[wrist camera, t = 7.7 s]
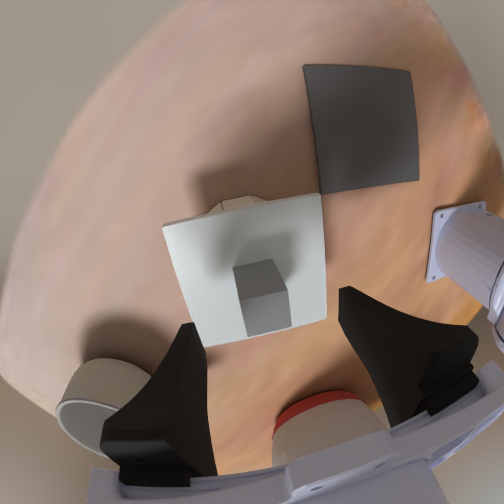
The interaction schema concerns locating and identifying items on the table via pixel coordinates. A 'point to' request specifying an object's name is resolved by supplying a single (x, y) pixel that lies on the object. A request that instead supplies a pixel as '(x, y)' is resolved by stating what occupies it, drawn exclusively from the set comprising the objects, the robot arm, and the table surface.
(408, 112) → the mat
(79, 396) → the teacup
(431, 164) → the table surface
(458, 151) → the table surface
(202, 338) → the lid
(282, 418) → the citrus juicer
